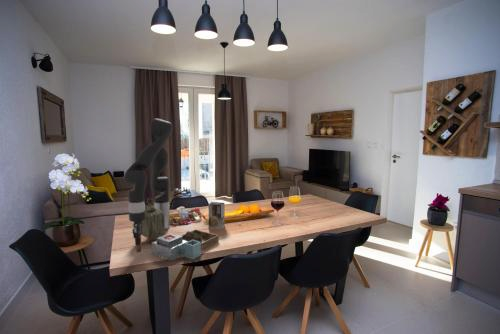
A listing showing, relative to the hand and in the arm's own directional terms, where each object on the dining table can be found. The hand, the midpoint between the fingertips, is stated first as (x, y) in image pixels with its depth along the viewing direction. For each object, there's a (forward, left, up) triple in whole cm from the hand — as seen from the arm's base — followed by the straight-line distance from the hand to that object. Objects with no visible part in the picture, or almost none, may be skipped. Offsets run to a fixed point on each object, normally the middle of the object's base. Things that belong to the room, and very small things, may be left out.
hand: (138, 243), depth 137 cm
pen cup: (+23, +14, -6) cm, 28 cm away
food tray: (-24, +53, -7) cm, 59 cm away
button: (+11, +10, -3) cm, 16 cm away
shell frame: (+14, +27, -6) cm, 31 cm away
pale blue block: (+11, +10, -6) cm, 16 cm away
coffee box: (+6, +54, -6) cm, 55 cm away
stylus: (0, 0, -4) cm, 4 cm away
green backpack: (-10, +15, -6) cm, 19 cm away
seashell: (+15, +26, -6) cm, 30 cm away
